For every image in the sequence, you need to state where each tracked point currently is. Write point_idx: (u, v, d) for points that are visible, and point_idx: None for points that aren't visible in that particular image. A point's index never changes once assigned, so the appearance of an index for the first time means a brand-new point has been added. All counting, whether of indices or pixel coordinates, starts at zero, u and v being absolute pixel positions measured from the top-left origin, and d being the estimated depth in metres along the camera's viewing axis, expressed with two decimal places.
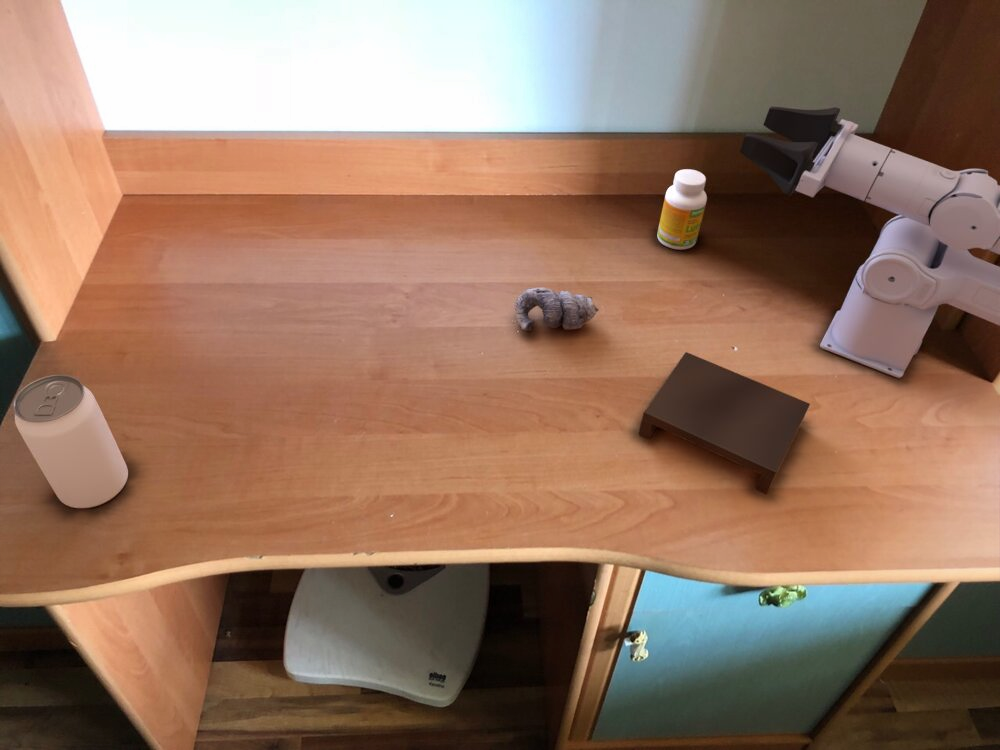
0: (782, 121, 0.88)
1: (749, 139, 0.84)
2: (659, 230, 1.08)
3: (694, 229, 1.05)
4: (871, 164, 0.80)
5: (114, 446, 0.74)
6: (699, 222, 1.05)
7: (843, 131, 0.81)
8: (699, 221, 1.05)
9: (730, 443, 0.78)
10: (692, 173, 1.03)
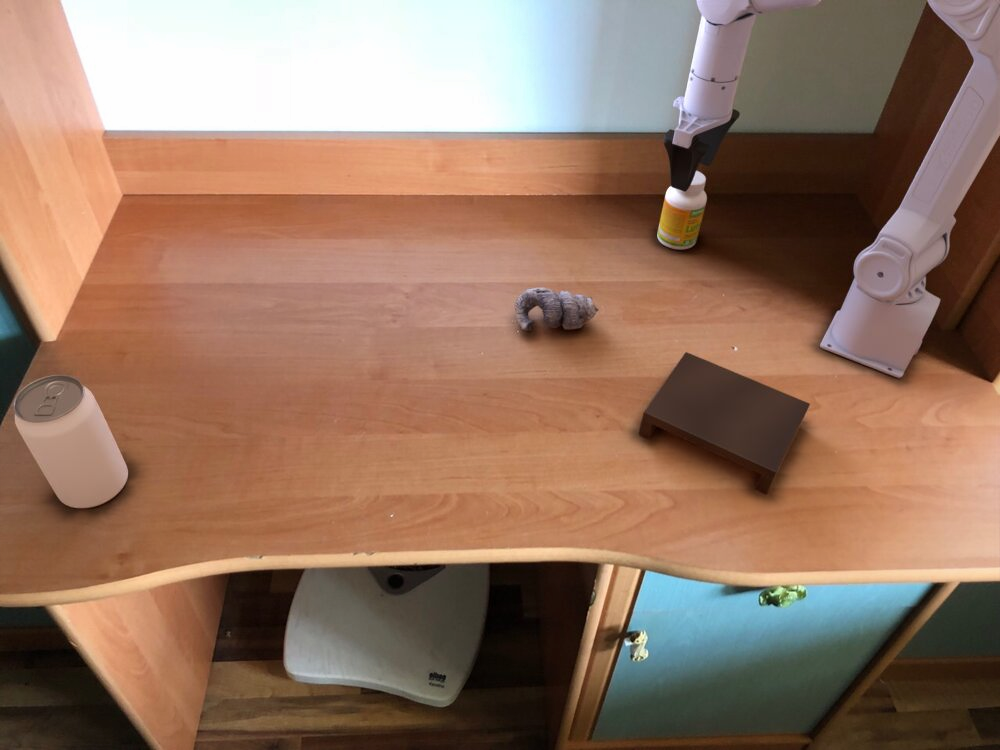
0: None
1: (672, 183, 1.00)
2: (659, 230, 1.08)
3: (694, 229, 1.05)
4: (691, 82, 0.93)
5: (114, 446, 0.74)
6: (699, 222, 1.05)
7: (675, 106, 0.97)
8: (699, 221, 1.05)
9: (730, 443, 0.78)
10: None
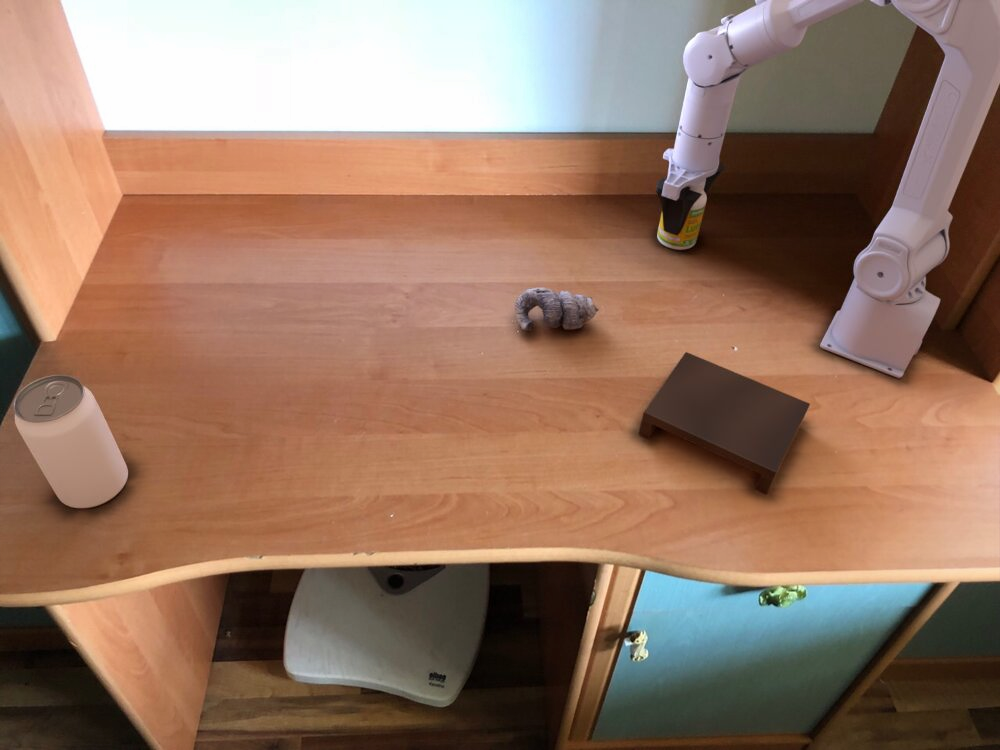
0: None
1: (665, 227, 1.05)
2: (659, 230, 1.08)
3: (694, 229, 1.05)
4: (679, 137, 0.98)
5: (114, 446, 0.74)
6: (699, 222, 1.05)
7: (664, 158, 1.02)
8: (699, 221, 1.05)
9: (730, 443, 0.78)
10: None
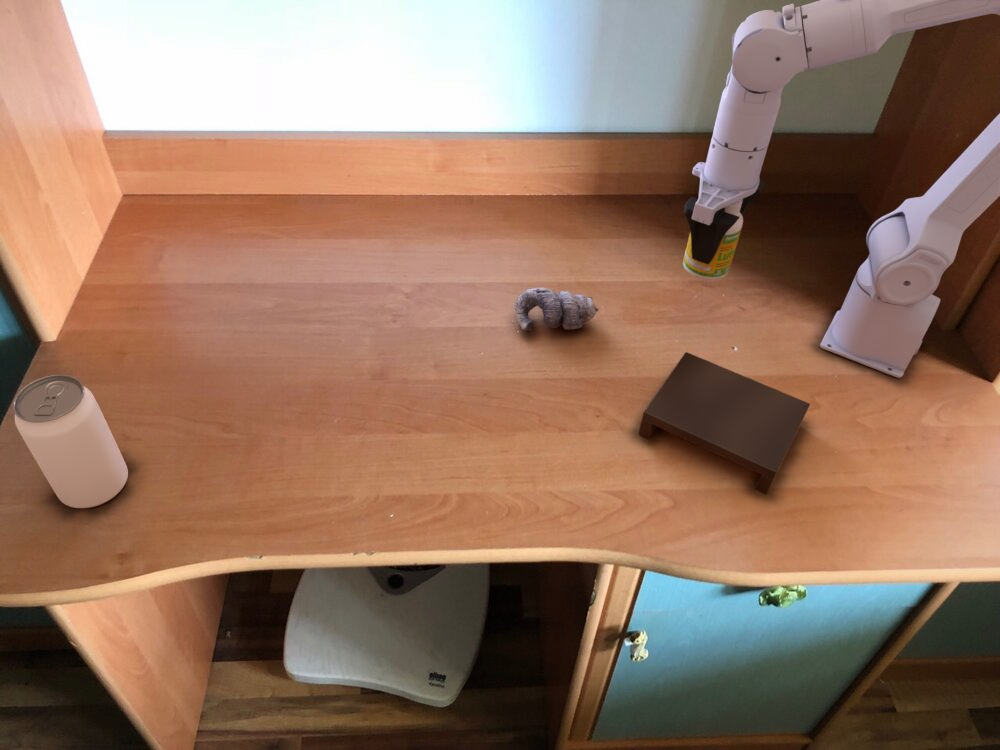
0: None
1: (694, 255, 0.89)
2: (686, 257, 0.92)
3: (727, 257, 0.89)
4: (713, 149, 0.82)
5: (114, 446, 0.74)
6: (733, 249, 0.89)
7: (694, 174, 0.86)
8: (733, 247, 0.89)
9: (730, 443, 0.78)
10: None
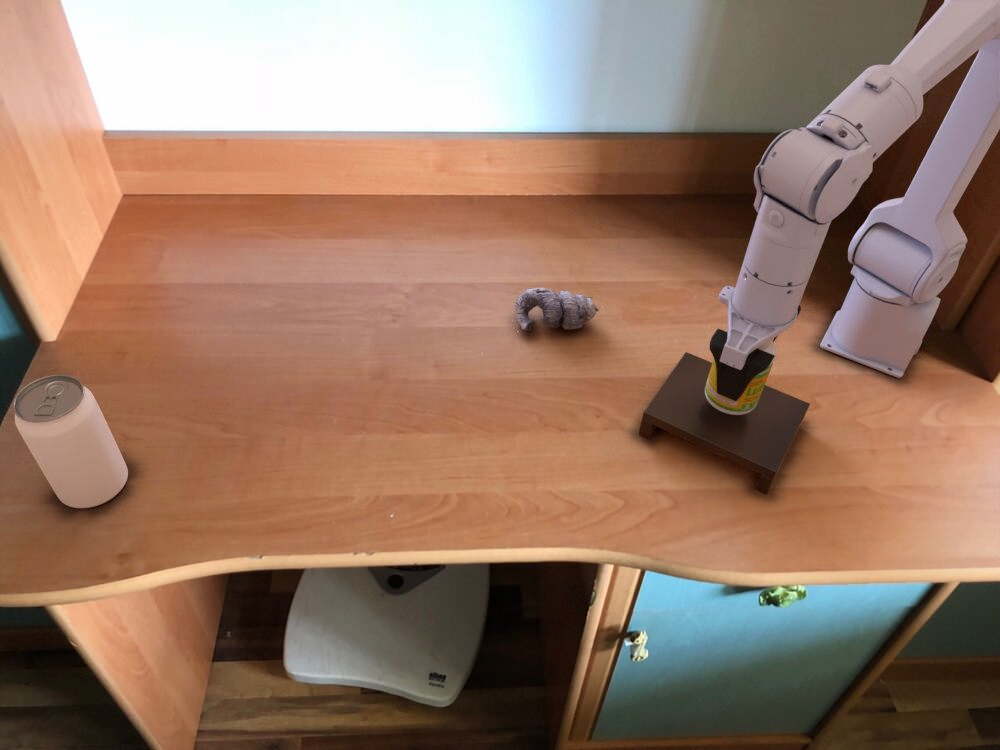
0: None
1: (719, 390, 0.77)
2: (708, 387, 0.79)
3: (758, 391, 0.77)
4: (745, 279, 0.69)
5: (114, 446, 0.74)
6: (764, 382, 0.77)
7: (721, 301, 0.73)
8: (765, 381, 0.77)
9: (730, 443, 0.78)
10: None
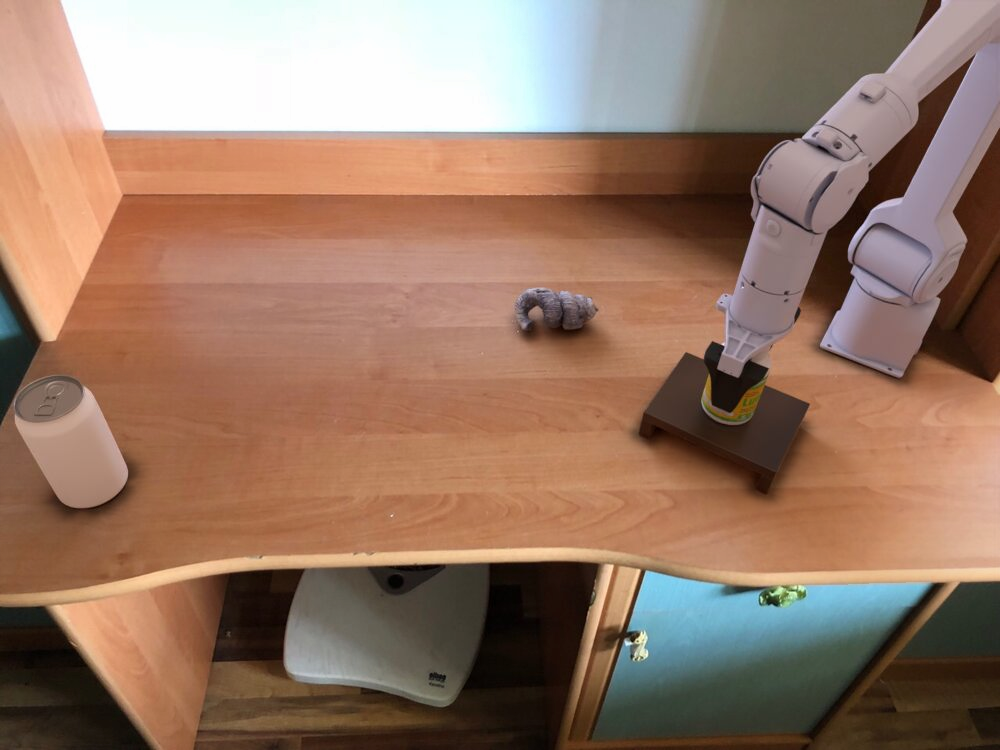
0: None
1: (714, 401, 0.77)
2: (705, 398, 0.80)
3: (753, 402, 0.78)
4: (742, 288, 0.70)
5: (114, 446, 0.74)
6: (760, 392, 0.78)
7: (718, 309, 0.74)
8: (760, 391, 0.78)
9: (730, 443, 0.78)
10: None
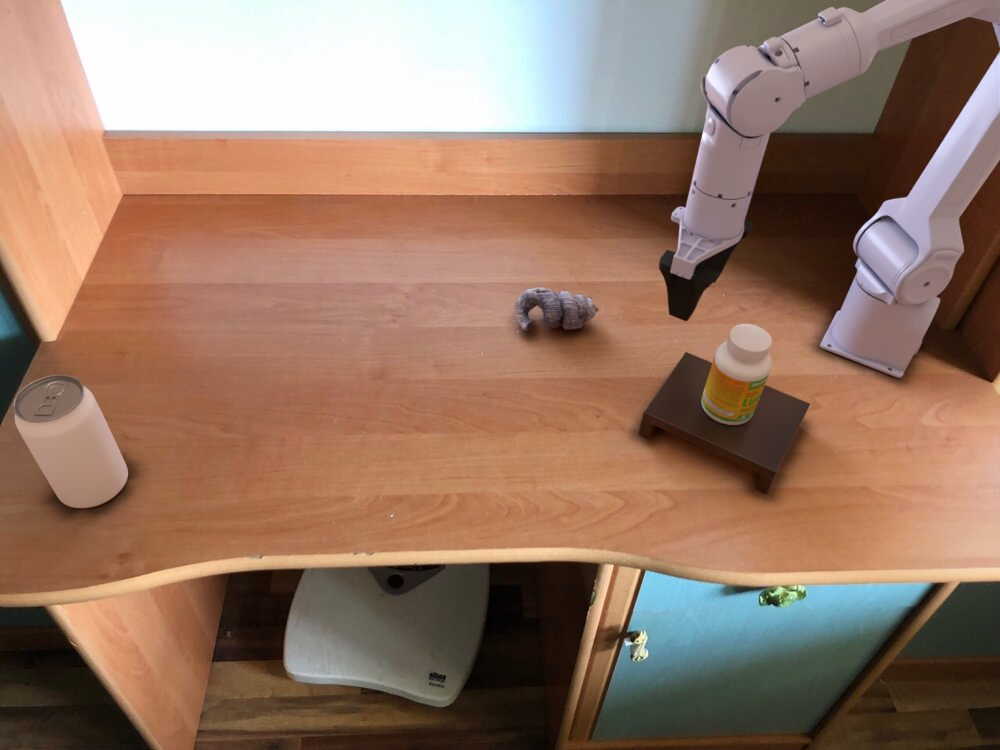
0: (708, 265, 0.85)
1: (671, 311, 0.81)
2: (705, 398, 0.80)
3: (753, 402, 0.78)
4: (693, 196, 0.74)
5: (114, 446, 0.74)
6: (760, 392, 0.78)
7: (673, 220, 0.78)
8: (760, 391, 0.78)
9: (730, 443, 0.78)
10: (753, 330, 0.76)
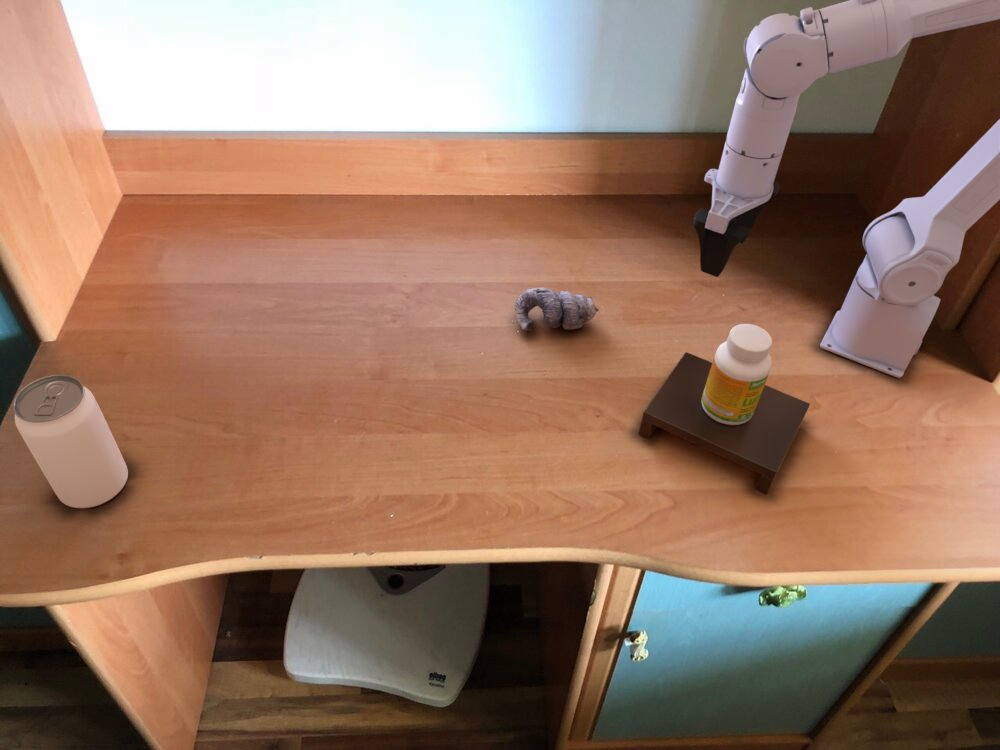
0: None
1: (703, 267, 0.86)
2: (705, 398, 0.80)
3: (753, 402, 0.78)
4: (727, 156, 0.80)
5: (114, 446, 0.74)
6: (760, 392, 0.78)
7: (706, 181, 0.84)
8: (760, 391, 0.78)
9: (730, 443, 0.78)
10: (753, 330, 0.76)
